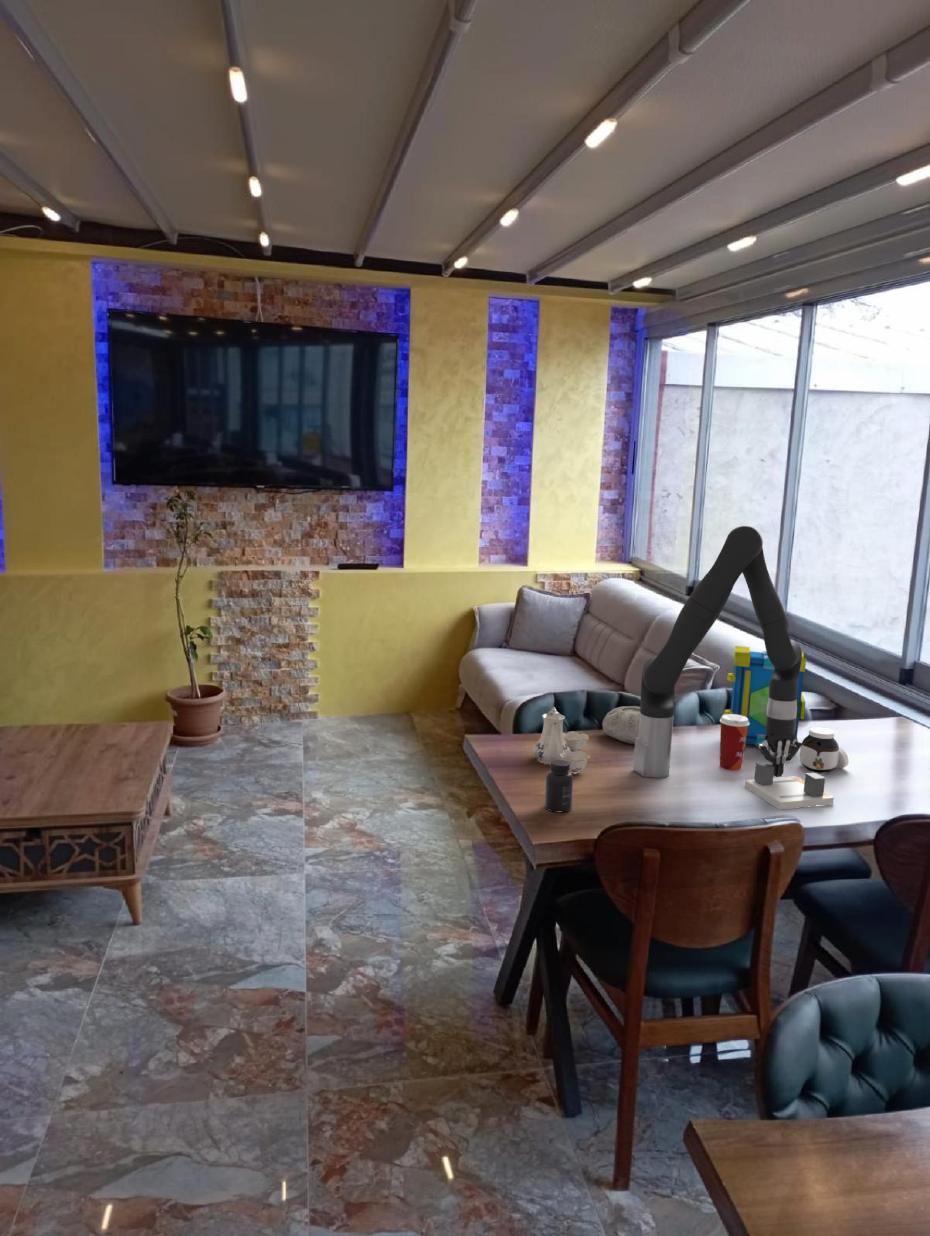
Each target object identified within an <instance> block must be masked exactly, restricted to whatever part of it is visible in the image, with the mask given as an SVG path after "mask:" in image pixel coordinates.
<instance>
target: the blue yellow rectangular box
mask: <svg viewBox="0 0 930 1236" xmlns="http://www.w3.org/2000/svg"><path fill="white" fill-rule="evenodd" d="M733 661H734V667H733V669H734V670H733V672H728V673H727V678H726V681H728V682H729V683H732V692H731V701H730V702H731V703H730V704H731V705H730V708H729V709H724V711H723V715H725V714H736V715H741V716H745V717H747V718H748V722H749V725H748V729H747V735H746V742H745V744H747V745H749V744H750V745H755V746H757V744H758V743H760V744H761V743H762V742H764V741H765V736H766V734H767V732H766V716H767V704H768V699H769V686H770V680H771V678H772V676H773V674H774V666H773V665H772V664H771V662H770V660H769V658H768V655H767V652H766V650H762V651H761V652H759V651H750V646H741V645H740V646H738V645H734V655H733ZM806 665H807V657H804V651H802V661H801V667H800V672H799V676H798V681H797V699H796V702H797V714H796V728H795V733H794V735H795V739H796V740H797V741H798V731H799V730H798V729H799V722H800V721H799V720H800V719H801V720H804V719H805V711H806V710H805V709H806V699H805V697H804V694H803V693H802V692H803V681H804V674H805V672H806ZM798 742H799V741H798Z"/></svg>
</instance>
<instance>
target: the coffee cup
mask: <svg viewBox="0 0 930 1236" xmlns="http://www.w3.org/2000/svg"><path fill="white" fill-rule="evenodd" d="M719 722H720V734H719V735H720V740H719V745H720V746H719V767H720V768H721V769H723V770H727V771H732V772H733V771H735V772H736V771H740V770H742V767H743V766H742V765H743V759H744V755H745V754H744V753H745V748H746V747H745V746H746V743H745V742H746V735H747V729H748V725H749V722H748V718H747V717H745V716H741V715H736V714H725V715H724V714H722V716H721V718H720V719H719Z"/></svg>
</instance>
